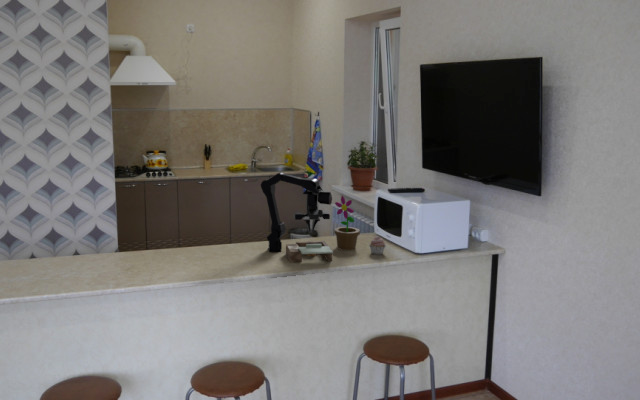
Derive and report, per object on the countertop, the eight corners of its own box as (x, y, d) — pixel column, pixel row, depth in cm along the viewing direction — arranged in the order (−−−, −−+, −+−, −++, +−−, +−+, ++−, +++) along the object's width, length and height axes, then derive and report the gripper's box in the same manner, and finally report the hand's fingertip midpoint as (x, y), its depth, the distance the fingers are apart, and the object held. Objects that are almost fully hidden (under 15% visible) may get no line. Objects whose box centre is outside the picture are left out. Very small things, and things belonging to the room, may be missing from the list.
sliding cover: (302, 254, 295) (302, 249, 295) (298, 248, 305) (298, 244, 304) (332, 253, 299) (333, 248, 298) (328, 247, 308) (328, 243, 308)
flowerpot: (328, 247, 328) (330, 195, 322) (342, 242, 340) (344, 191, 334) (350, 252, 320) (352, 199, 314) (363, 247, 332) (366, 195, 326)
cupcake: (381, 256, 314) (382, 239, 312) (365, 254, 319) (366, 236, 317) (388, 252, 322) (389, 235, 320) (373, 250, 327) (373, 232, 325)
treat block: (307, 256, 312) (307, 247, 311) (305, 253, 316) (305, 244, 315) (315, 255, 313) (315, 246, 312) (313, 253, 317) (313, 244, 316)
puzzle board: (290, 262, 300) (290, 251, 299) (284, 252, 317) (284, 242, 316) (331, 260, 305) (332, 250, 304) (324, 250, 322) (324, 240, 321)
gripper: (297, 206, 299) (296, 235, 302) (332, 205, 303) (331, 235, 306) (293, 201, 309) (292, 230, 313) (327, 201, 313) (326, 229, 317)
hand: (311, 231), depth 312 cm, fingers closed
